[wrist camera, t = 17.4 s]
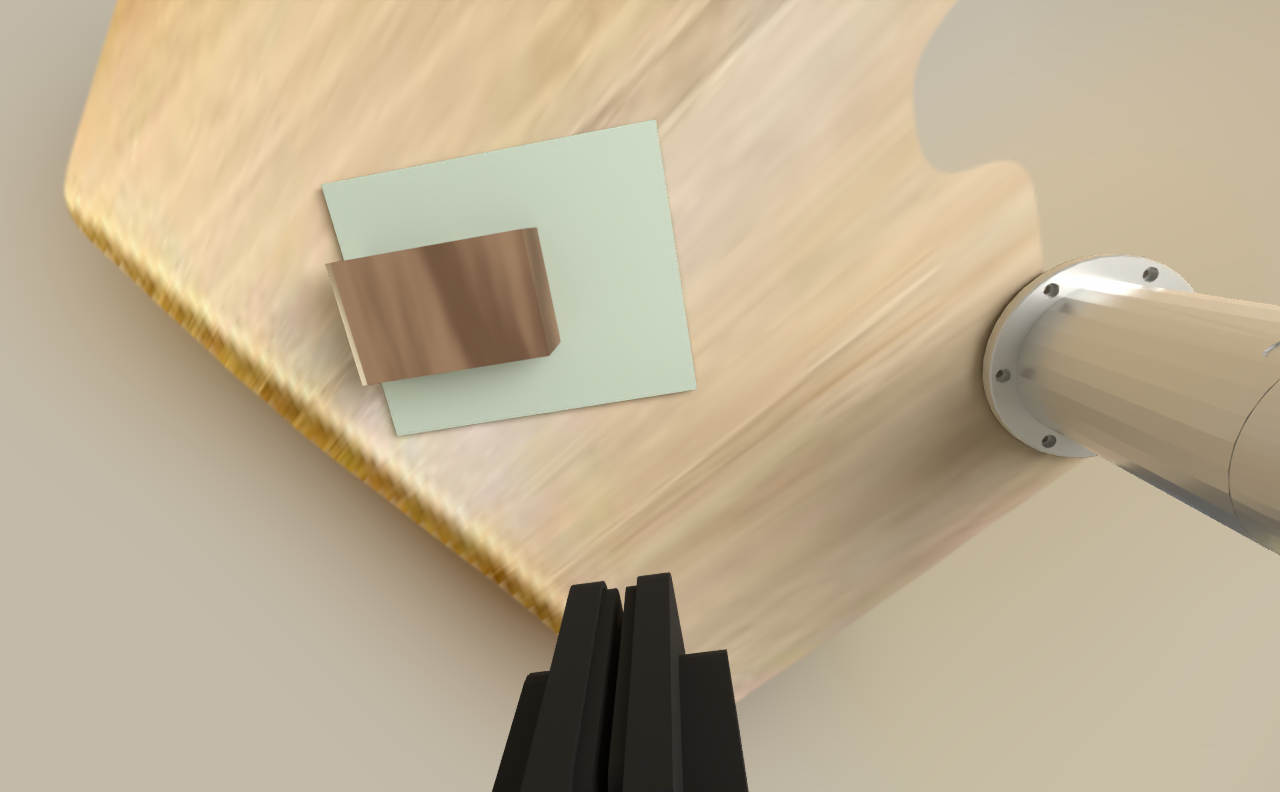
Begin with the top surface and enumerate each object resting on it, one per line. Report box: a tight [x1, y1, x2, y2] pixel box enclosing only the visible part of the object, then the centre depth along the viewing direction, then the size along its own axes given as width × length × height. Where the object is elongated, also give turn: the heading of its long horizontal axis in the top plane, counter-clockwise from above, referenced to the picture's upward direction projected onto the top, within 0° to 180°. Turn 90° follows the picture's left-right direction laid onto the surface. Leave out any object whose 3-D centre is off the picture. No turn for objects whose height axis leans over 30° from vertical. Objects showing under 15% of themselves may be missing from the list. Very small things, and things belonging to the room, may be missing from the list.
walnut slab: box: [325, 227, 561, 386], centre depth 36 cm, size 4×7×11 cm
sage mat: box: [321, 119, 697, 436], centre depth 37 cm, size 20×16×1 cm
